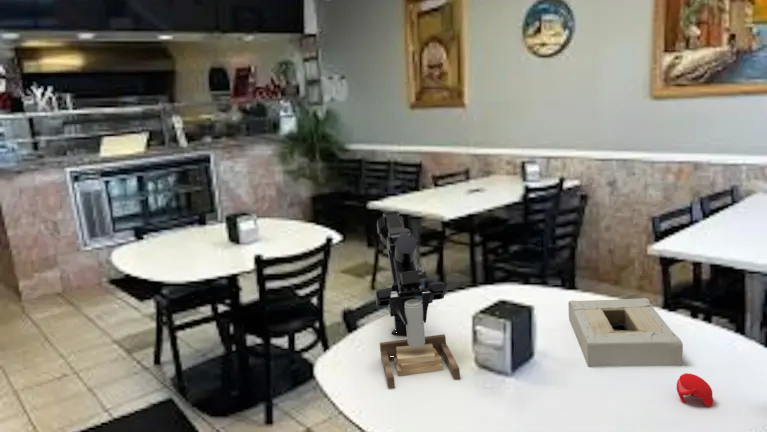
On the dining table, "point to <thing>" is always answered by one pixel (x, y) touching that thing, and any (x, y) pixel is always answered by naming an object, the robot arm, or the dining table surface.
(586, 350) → the box
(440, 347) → the offcut rack
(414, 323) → the beverage can
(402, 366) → the offcut stack
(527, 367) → the dining table surface
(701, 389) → the red curved shell piece
